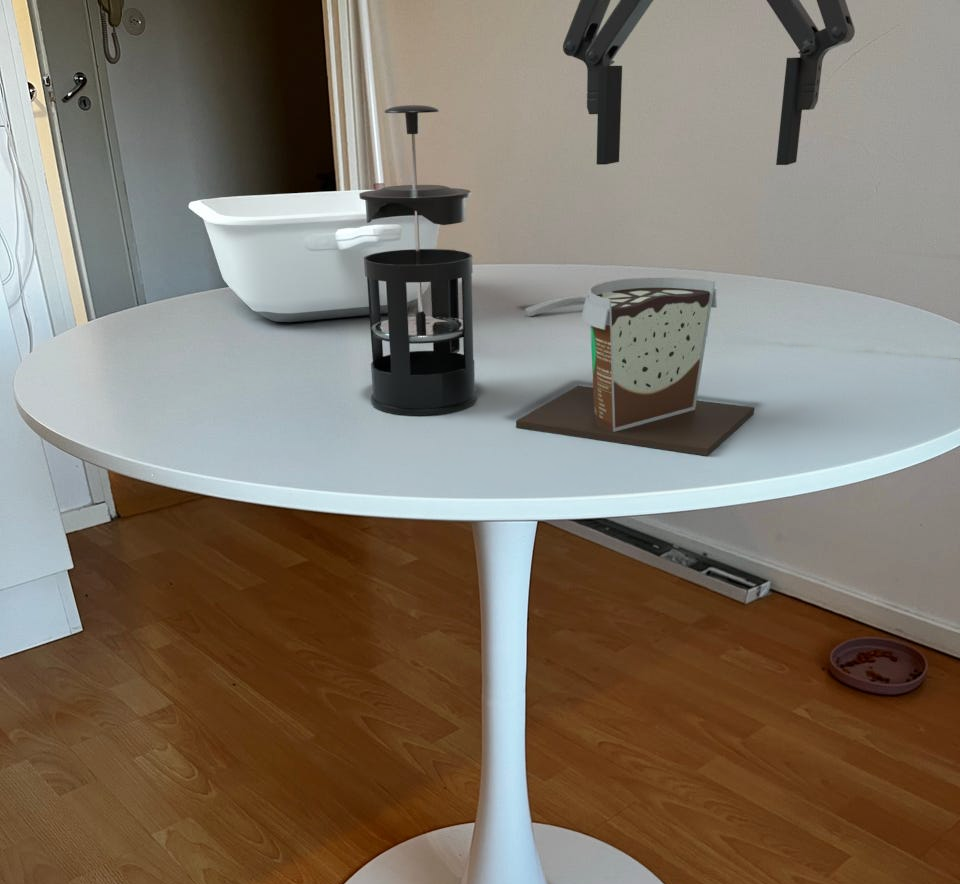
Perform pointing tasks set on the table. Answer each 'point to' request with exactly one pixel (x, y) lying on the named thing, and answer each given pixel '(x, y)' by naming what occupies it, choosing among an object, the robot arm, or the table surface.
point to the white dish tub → (306, 251)
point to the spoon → (552, 304)
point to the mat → (672, 433)
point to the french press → (420, 301)
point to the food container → (647, 347)
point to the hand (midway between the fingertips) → (693, 164)
